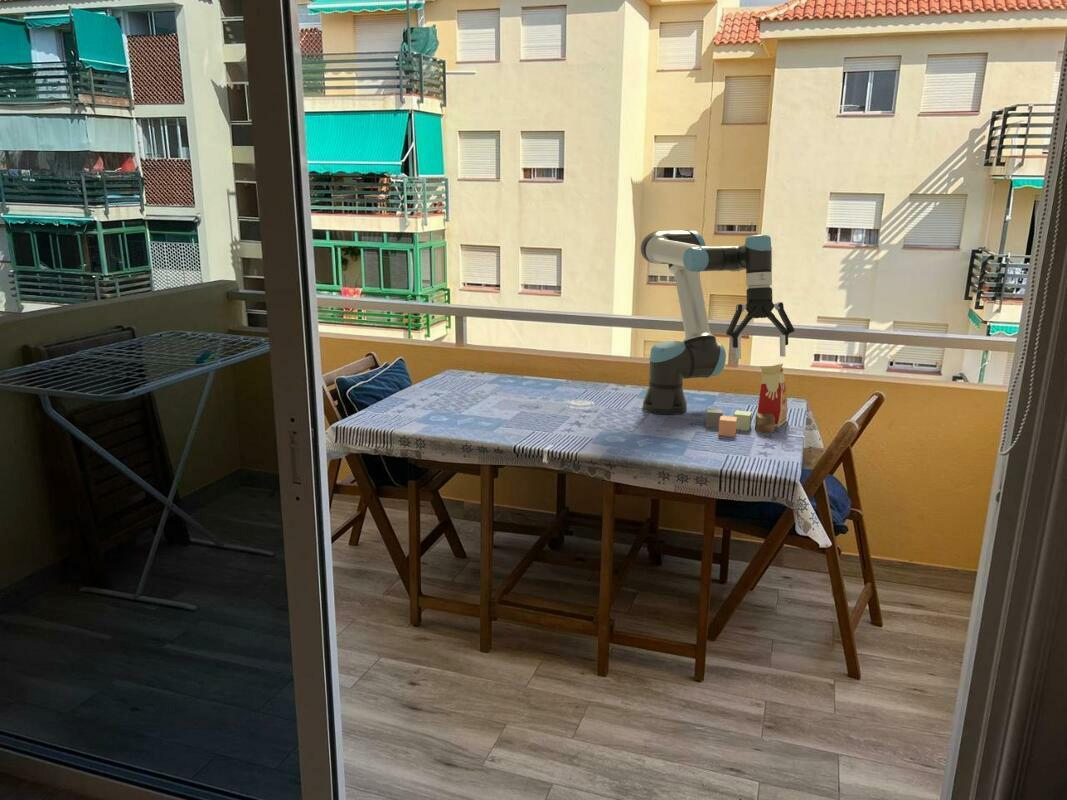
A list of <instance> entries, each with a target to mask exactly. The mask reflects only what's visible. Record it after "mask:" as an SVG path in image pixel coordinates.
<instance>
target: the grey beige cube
mask: <svg viewBox="0 0 1067 800" xmlns="http://www.w3.org/2000/svg"><path fill="white" fill-rule="evenodd" d="M723 414H724V413H723V409H722V408H712V407H711V408H709V407H706V408H705V421H704V423H705V427H706V428H719V420H720V417H721V416H724V415H723Z"/></svg>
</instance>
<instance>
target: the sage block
mask: <svg viewBox="0 0 1067 800" xmlns="http://www.w3.org/2000/svg"><path fill="white" fill-rule="evenodd" d="M752 415H753V411H749V410H747V411H746V410H738V409H736V410H735V412H733V417H737V424H736V430H739V429H740V430H741V431H747V430H749V431H750V429H751V427H752V419H753V418H752V417H753V416H752ZM740 430H739V431H740Z"/></svg>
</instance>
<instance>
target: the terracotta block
mask: <svg viewBox="0 0 1067 800" xmlns="http://www.w3.org/2000/svg"><path fill="white" fill-rule="evenodd" d="M736 424H737V417H734V416H729V415H723V416H721V417H720V420H719V427H718V435H719V436H726V437H736V433H737V429H736ZM718 435H717V436H718Z"/></svg>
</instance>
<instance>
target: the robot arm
mask: <svg viewBox="0 0 1067 800" xmlns="http://www.w3.org/2000/svg"><path fill="white" fill-rule="evenodd" d="M771 239H772V238H771V236H770V235H768V234H755V235H753V234H752V235H748V236H747V237H745V242H744V244H743V245H729V246H727V245H726V246H725V245H724V246H720V245H719V246H706V245H707V244H706V242H705V239H704V237H703V236H702V235H701V233H699V232H698V231H696V230H689V229H684V230H656V231H653V232H650V233H648V234H647V235H645V237H644V238H643V239H642V241H641V244H640V253H641V257H642V258H643V259H644V260H645V261H647V262H648V263H652V264H657V265H661V264H662V265H668V270H669V272H670V273H672V274H673V275H674V279H675V286H676V291H677V297H678V300H679V301H678V302H679V307H680V313H681V319H682V324H683V331H684V335H685V337H684V339H683V340H682V341H680V340H669V341H668V340H667V341H661V342H658V343H655V344H654V345H653V346H651V348H650V353H649V355H650V356H649V357H648V358H649V371H648V372H649V373H648V375H649V377H648V378H649V379H648V388H647V390H646V393H645V396H644V397H643V398H644V399H643V402H642V410H644V411H645V412H648V413H651V414H655V415H669V416H670V415H679V414H683V413H685V412H686V411H687V407H688V403H687V400H686V395H685V392H684V388H683V387H684V386H683V384H684V380H685V379H686V380H687V379H700V378H702V379H704V378H706V379H707V378H708V379H709V378H710V377H716V376H718V375H720V374H721V373H722V372H723V370H724V368H725V364H726V361H727V358H726V357H727V353H726V349H725V347H724V345H723V344H722V343H720V342H717V338H716V335H714V334H712V333H711V331H710V325H709V319H708V318H709V317H708V313H707V307H706V302H705V297H704V294H703V293H704V292H703V288H702V280H701V275H700V272H720V271H721V272H726V271H729V272H740V271H745V270H746V271H745V278H746V280H745V284H746V287H747V288H746V291H745V293H746V304H741V303H738V304H736V307H735V313H734V314H733V317H732V319H731V322H730V323H729V325H728V328H727V329H726V332H725V334H726V336H730V337H731V338H732V348H735V359H737V360H738V359H740V360H741V359H742V343H741V341H742V339H741V336H739V335H740V334H741V333H742V332H743V330H744V329H745V327H747V326H748V324H749V323H750V322H751V320H752V319H766V318H767V319H768V320H769V321H771V323H772V324H773V325H774V327H776V329H778V331H779V332H780V333H781V334H780V335H779V357H783V358H785V357H786V346H789V335H790V334H791V333H795V328H794V326H793V324H792V322H791V320H790V318H789V317H788V315H787V312H786V311H785V308H784V302H775V303H774V302H773V288H772V287H771V286H772V285H773V273H772V271H773V263H772V261H773V260H772V259H773V258H772V257H773V253H772V252H773V251H772V250H773V247H772V240H771ZM773 309H774V310H776V311H777V313H778V315H779V316H780V318H781V321H782V322H780V320H779V319H778V318H777V316H775V314H774V313H773ZM745 310H746V312H747V314H746V315H745V316H744V318H743V320H742V321H741V323H739V325H738V326H737V324H738V322H739V320H740V318H741V316H742V313H743V312H744V311H745ZM782 323H783V324H782ZM736 326H737V327H736Z"/></svg>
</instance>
